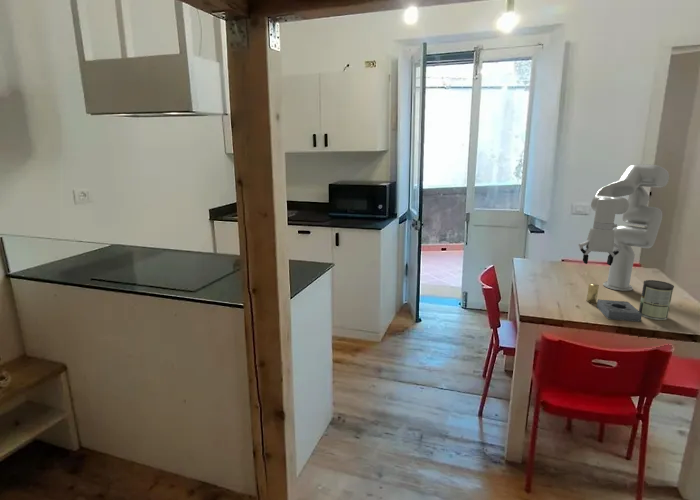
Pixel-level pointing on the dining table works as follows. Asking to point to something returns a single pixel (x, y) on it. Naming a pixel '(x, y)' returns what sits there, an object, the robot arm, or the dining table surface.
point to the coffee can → (656, 299)
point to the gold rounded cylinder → (592, 293)
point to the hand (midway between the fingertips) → (597, 263)
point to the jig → (619, 310)
